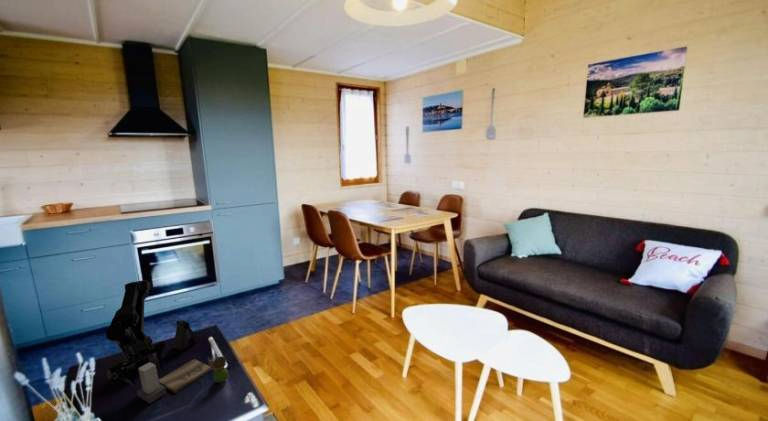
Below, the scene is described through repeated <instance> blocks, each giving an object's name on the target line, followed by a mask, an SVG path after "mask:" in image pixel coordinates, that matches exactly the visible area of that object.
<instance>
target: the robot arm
mask: <svg viewBox="0 0 768 421" xmlns="http://www.w3.org/2000/svg"><path fill="white" fill-rule="evenodd" d="M150 290H151V282H150V281H147V280H146V279H144V280H136V281H131V282H128V283H125V284H124V295H123V298H122V301H121V307H120V308H118V310H116V311H115V313H114V316H113V317H112V319H111V322H110V324H109V327H108V328H107V330H106V333H105V338H106V339H107V340H108V341H110V342H113V343H115V344H117V346H118V347H119V350H121V354H122V356H124V358H125V359H126V361H125V362H122V361H121V360H120V361H118V362H116V363H114V364H113V365H110V366H109V367H108V369H107V371H106V377H107V379H108V380H112V379H114V380H117V379H119V380H121V381H124V382H126V383H127V384H129V385H131V386H133V387H136V386H137V384H136V382H135V380H134V379H133V377H132V375H131V374H130V373H129V370H128V369H127V368H129V367H130V369H132V370H134V371H136V372H138V373H139V370H138V368H140V367H142V366H143V365H145V364H147V363H149V362H151V363H152V364H154V365H156V367H157V368H158V370H159V371H160V372H163V371H164V367H163V360H162V354H163V353H164V351H165V349H166V348H167V347H168V344H167V343H166V342H165V341H163V340H162V341H159V342H157V343H155V344H154V345H153V343H154V342H153V339H152V337H151V336H150V335H147V334H146V332H144V331H145V300H146V299H147V297H148V296H149V295H150V294H149V293H150ZM150 356H152V359H153V360H151V359H150Z"/></svg>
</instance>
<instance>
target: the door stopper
mask: <svg viewBox="0 0 768 421" xmlns="http://www.w3.org/2000/svg"><path fill="white" fill-rule="evenodd" d="M175 325H176V330H175V335H174V339H173V346H172V347H173V348H174V349H175V350H177V351H180V352H183V351H184V350H186V349H187V348H190V347H192V346H193V345H195V344H197V343H199V342H200V340H199V338H198V336H197V335H196V334H195V332H194V331H193V329H192V328H191V324H190V322H188V321H185V320H183V319H181V318H180V319H179V320H176V322H175ZM186 337H187V339H186Z"/></svg>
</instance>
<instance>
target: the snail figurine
mask: <svg viewBox="0 0 768 421" xmlns="http://www.w3.org/2000/svg"><path fill="white" fill-rule="evenodd" d="M226 362H227V361H226V358H225V356H218V357H216V358H215V359H214V361H213V360H212V359H210V358H209V357H207V363H208V366H210V367H211V369H212V371H214V372H213V374H212V375H213V376H212V378H213V381H214V382H216V383H219V384H220V383H224V382H225V381H226V380H227V379H228V377H229V375H230V374H229V370H228V369H227V368H226V365H227V363H226Z"/></svg>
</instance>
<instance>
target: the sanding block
mask: <svg viewBox="0 0 768 421" xmlns="http://www.w3.org/2000/svg"><path fill="white" fill-rule="evenodd" d="M138 370H139V372H138V374H139V378H140V384H141V388H139V389H137V391H136V392H137V396H138V397H139V398H140V399H142V401H145V402H146V403H148V404H152V403H153V402H155V401H157V400H158V399H160V398H162V397H164V395H166V394H167V393H168V392H167V388H166V387H164V386H162V385H161V384H159V376H158V371H157V370H158V369H157V365H156V364H155V363H154V364H152V363H151V362H149V363H147V364H145V365H143V366H142V367H140V368H138Z"/></svg>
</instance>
